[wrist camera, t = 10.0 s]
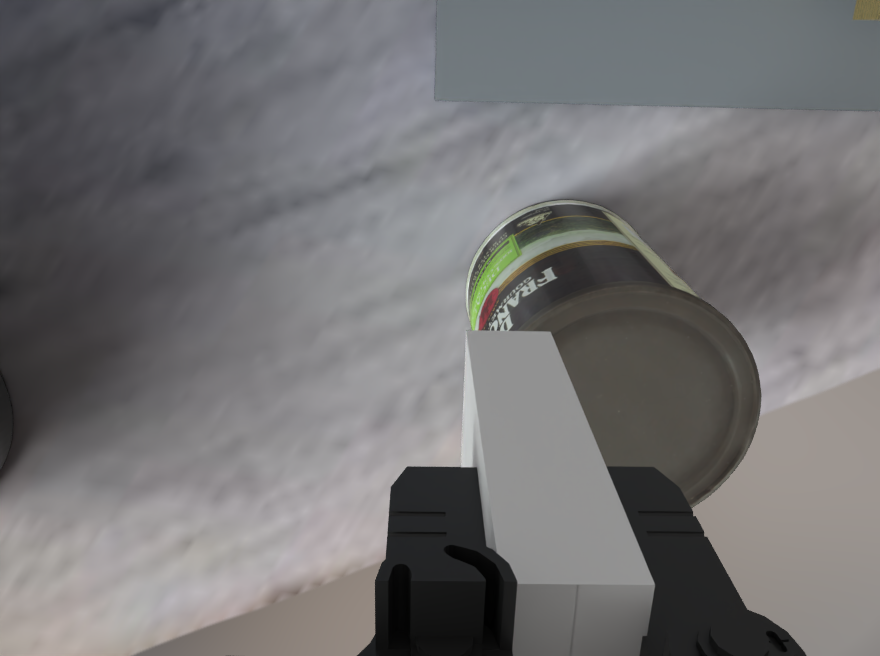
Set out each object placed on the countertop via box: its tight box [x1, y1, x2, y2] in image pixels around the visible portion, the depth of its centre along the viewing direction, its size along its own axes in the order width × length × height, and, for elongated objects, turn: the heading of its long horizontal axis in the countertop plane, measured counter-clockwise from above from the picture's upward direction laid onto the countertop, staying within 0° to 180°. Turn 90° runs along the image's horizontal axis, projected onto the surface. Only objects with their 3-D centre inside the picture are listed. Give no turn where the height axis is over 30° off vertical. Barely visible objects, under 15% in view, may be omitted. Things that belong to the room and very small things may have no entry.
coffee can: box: [466, 200, 761, 508], centre depth 35 cm, size 10×10×14 cm
